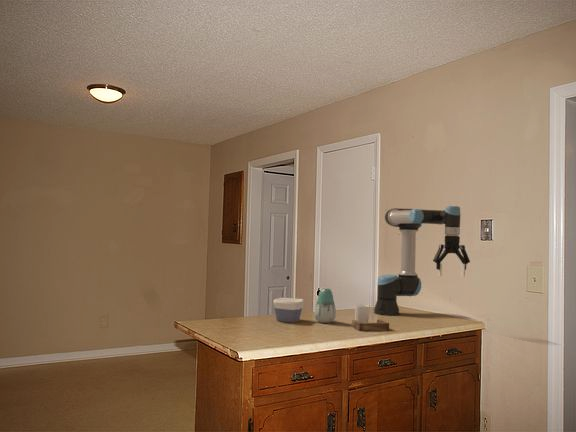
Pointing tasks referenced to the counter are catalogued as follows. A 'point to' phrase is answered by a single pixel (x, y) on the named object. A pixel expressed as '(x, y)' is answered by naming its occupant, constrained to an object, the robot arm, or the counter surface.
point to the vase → (325, 307)
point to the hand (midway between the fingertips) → (451, 276)
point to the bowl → (288, 309)
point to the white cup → (362, 313)
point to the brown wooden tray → (370, 325)
